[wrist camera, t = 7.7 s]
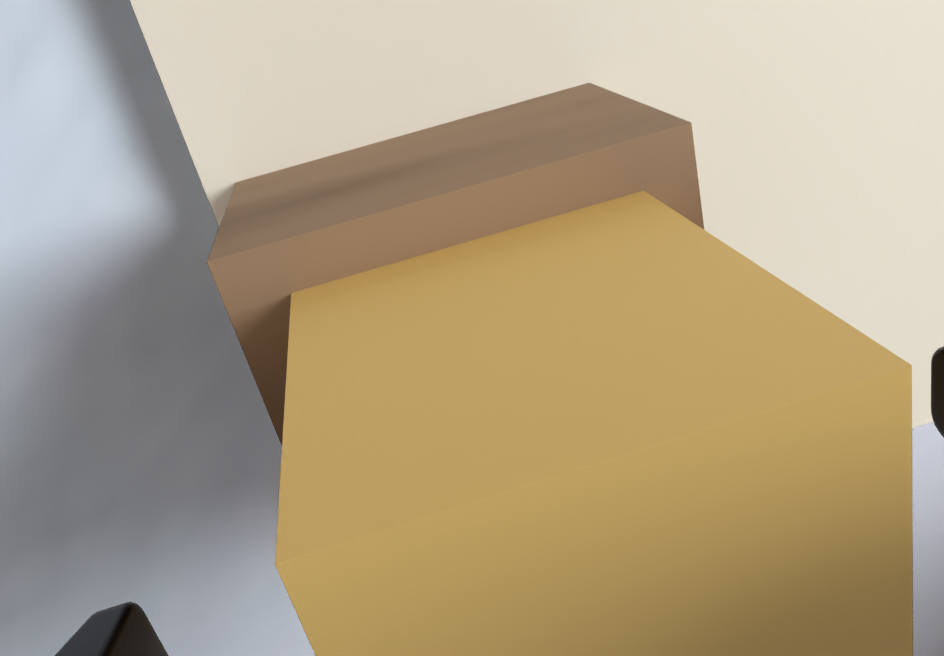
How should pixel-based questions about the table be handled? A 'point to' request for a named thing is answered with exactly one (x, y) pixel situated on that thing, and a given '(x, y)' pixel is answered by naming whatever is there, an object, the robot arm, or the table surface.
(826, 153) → the building board
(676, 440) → the ochre brick
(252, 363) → the walnut brick
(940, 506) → the table surface
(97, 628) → the robot arm
